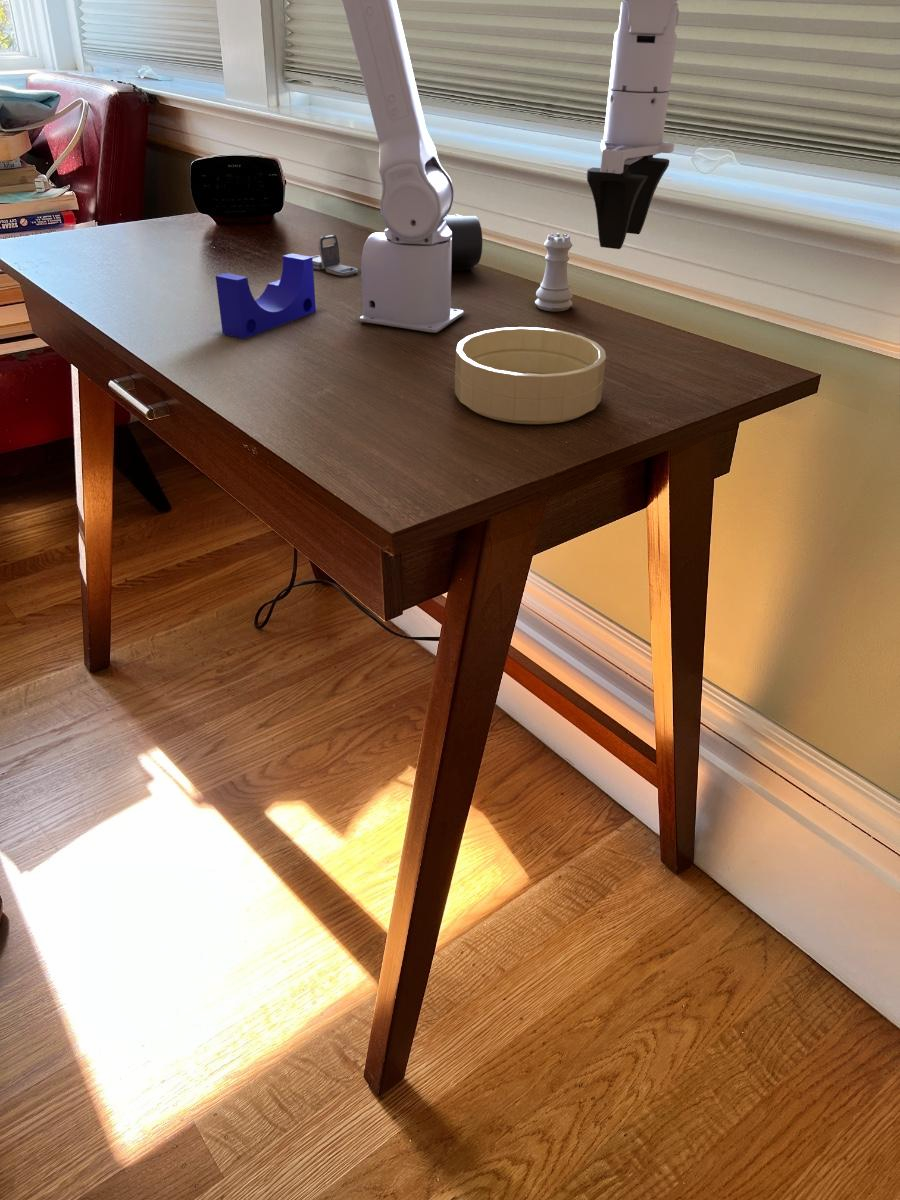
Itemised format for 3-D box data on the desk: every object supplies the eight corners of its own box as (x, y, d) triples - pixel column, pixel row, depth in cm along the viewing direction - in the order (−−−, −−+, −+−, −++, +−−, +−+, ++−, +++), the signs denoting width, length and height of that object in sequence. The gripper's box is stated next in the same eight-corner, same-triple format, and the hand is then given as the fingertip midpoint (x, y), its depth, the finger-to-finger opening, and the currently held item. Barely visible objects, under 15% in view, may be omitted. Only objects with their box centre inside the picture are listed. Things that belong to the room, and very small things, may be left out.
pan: (431, 411, 80) (432, 361, 77) (486, 365, 90) (488, 319, 87) (575, 437, 76) (580, 386, 73) (616, 386, 86) (622, 339, 83)
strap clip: (300, 265, 121) (297, 231, 119) (317, 261, 123) (315, 228, 121) (343, 277, 117) (341, 242, 114) (360, 273, 118) (359, 238, 116)
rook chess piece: (570, 313, 105) (577, 241, 101) (532, 310, 106) (537, 238, 101) (573, 302, 109) (580, 232, 104) (536, 300, 109) (541, 230, 105)
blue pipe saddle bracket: (285, 305, 106) (281, 251, 102) (315, 311, 104) (312, 257, 101) (212, 331, 97) (204, 273, 94) (243, 338, 95) (237, 280, 92)
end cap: (407, 279, 116) (407, 223, 112) (395, 266, 122) (394, 212, 118) (482, 275, 119) (484, 220, 115) (466, 262, 124) (467, 209, 120)
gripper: (663, 98, 79) (641, 259, 87) (696, 87, 91) (674, 230, 98) (585, 93, 82) (571, 250, 89) (627, 83, 93) (611, 223, 100)
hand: (620, 240), depth 94 cm, fingers open, 7 cm apart
